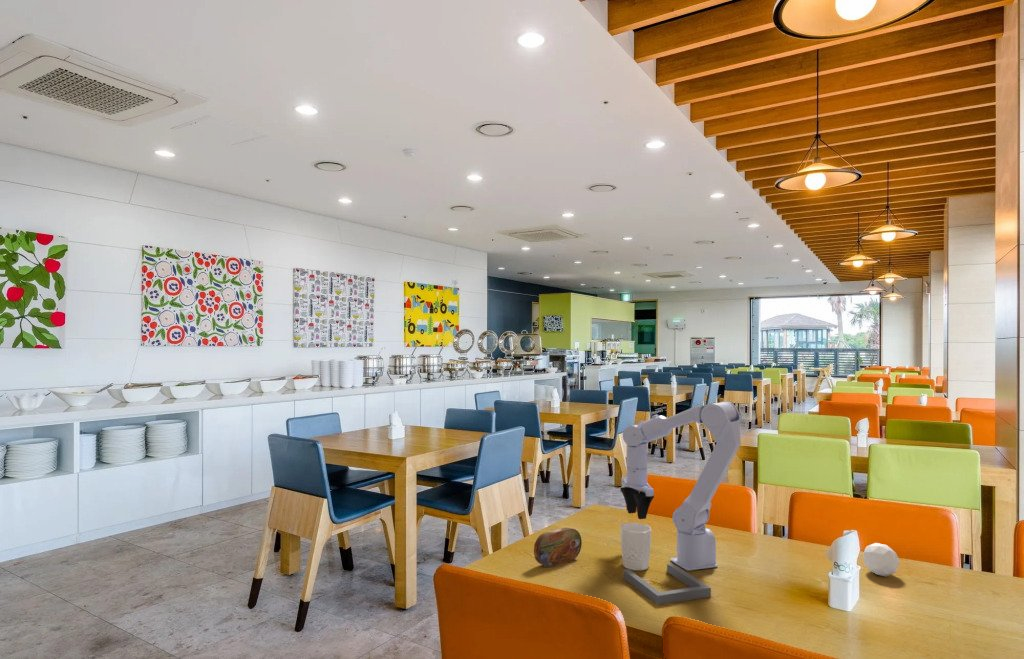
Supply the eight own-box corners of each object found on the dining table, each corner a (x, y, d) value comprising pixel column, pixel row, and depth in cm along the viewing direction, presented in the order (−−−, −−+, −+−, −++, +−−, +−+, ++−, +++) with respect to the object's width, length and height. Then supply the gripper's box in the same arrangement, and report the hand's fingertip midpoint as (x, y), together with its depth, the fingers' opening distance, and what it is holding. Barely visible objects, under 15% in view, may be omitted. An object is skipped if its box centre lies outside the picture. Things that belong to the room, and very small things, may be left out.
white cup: (651, 572, 145) (651, 533, 145) (620, 570, 147) (620, 530, 147) (650, 561, 153) (650, 523, 153) (620, 559, 154) (620, 521, 155)
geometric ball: (873, 586, 144) (852, 558, 146) (881, 566, 150) (860, 540, 151) (903, 580, 139) (880, 551, 140) (909, 560, 144) (887, 533, 146)
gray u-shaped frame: (672, 571, 146) (672, 563, 146) (710, 596, 132) (710, 587, 132) (623, 577, 142) (623, 569, 142) (657, 604, 127) (657, 595, 127)
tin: (539, 570, 146) (539, 537, 147) (531, 566, 149) (531, 534, 149) (582, 557, 155) (582, 526, 156) (574, 554, 158) (574, 523, 158)
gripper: (612, 463, 168) (612, 509, 168) (637, 473, 154) (637, 524, 154) (633, 461, 170) (633, 507, 170) (660, 472, 156) (660, 522, 156)
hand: (636, 515), depth 162 cm, fingers open, 5 cm apart
